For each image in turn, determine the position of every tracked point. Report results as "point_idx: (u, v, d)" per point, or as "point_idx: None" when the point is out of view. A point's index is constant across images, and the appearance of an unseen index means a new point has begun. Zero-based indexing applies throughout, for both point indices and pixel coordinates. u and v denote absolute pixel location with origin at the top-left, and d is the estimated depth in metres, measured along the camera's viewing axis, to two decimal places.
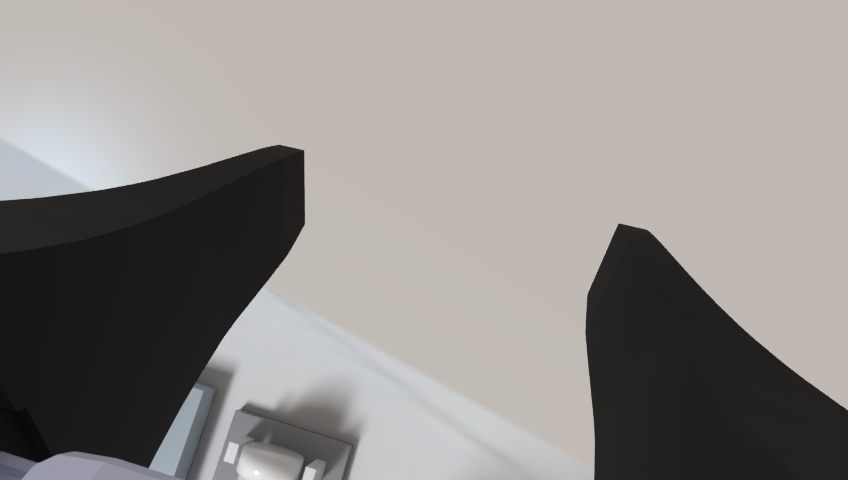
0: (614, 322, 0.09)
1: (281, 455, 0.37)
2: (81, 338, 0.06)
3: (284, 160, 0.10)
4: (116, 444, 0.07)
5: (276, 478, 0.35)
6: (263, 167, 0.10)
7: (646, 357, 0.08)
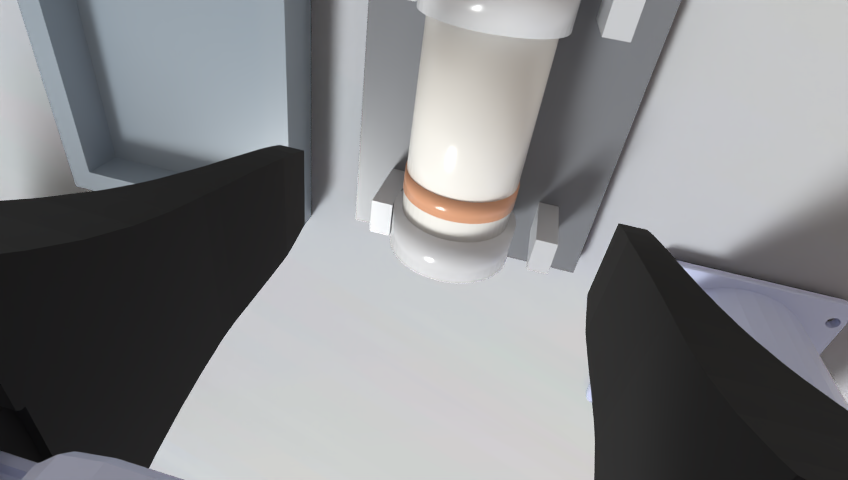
0: (614, 321, 0.09)
1: None
2: (81, 338, 0.06)
3: (284, 160, 0.10)
4: (116, 444, 0.07)
5: (530, 16, 0.13)
6: (263, 167, 0.10)
7: (646, 357, 0.08)
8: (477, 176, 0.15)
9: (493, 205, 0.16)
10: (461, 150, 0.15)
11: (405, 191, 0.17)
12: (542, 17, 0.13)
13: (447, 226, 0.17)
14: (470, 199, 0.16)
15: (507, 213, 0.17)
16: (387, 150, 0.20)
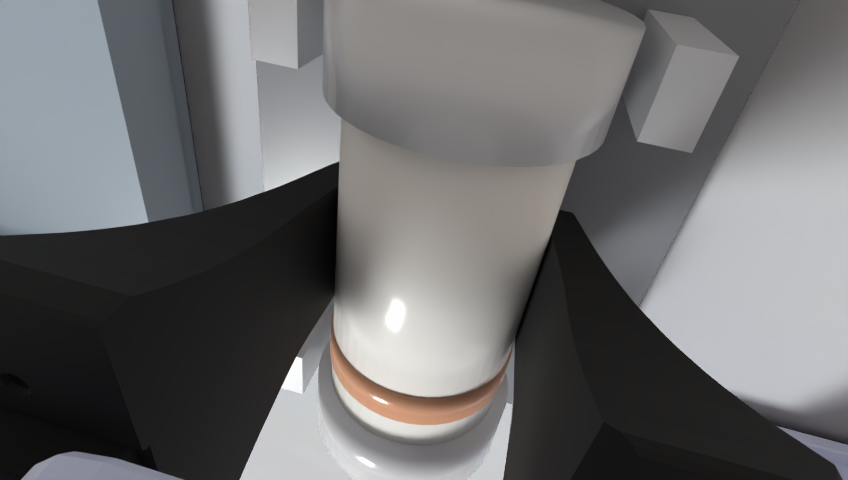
0: (532, 301, 0.09)
1: (525, 2, 0.07)
2: (195, 371, 0.06)
3: None
4: (211, 474, 0.07)
5: (559, 127, 0.06)
6: None
7: (546, 331, 0.08)
8: (457, 366, 0.09)
9: (483, 391, 0.10)
10: (429, 334, 0.09)
11: (335, 368, 0.11)
12: (579, 125, 0.06)
13: (412, 429, 0.10)
14: (447, 394, 0.10)
15: (500, 384, 0.11)
16: None
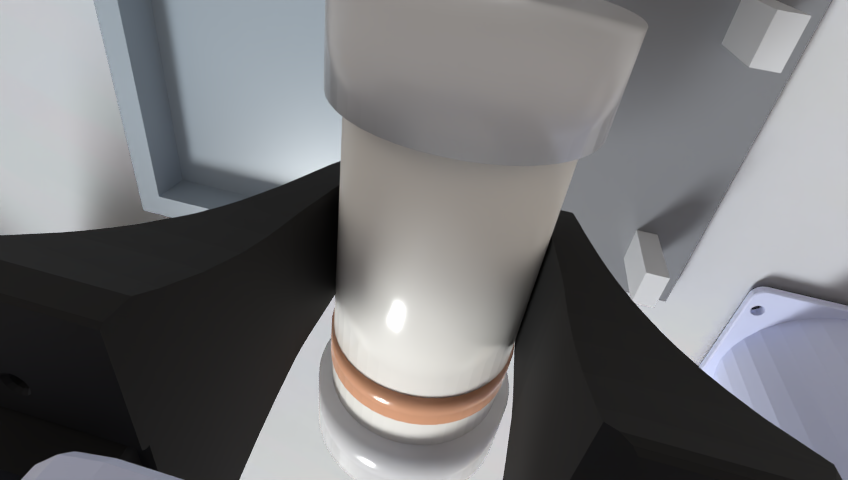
0: (532, 301, 0.09)
1: (527, 0, 0.07)
2: (195, 371, 0.06)
3: None
4: (211, 474, 0.07)
5: (560, 125, 0.06)
6: (339, 185, 0.09)
7: (546, 331, 0.08)
8: (458, 365, 0.09)
9: (484, 391, 0.10)
10: (430, 334, 0.09)
11: (336, 368, 0.11)
12: (581, 124, 0.06)
13: (412, 429, 0.10)
14: (448, 394, 0.10)
15: (501, 384, 0.11)
16: None
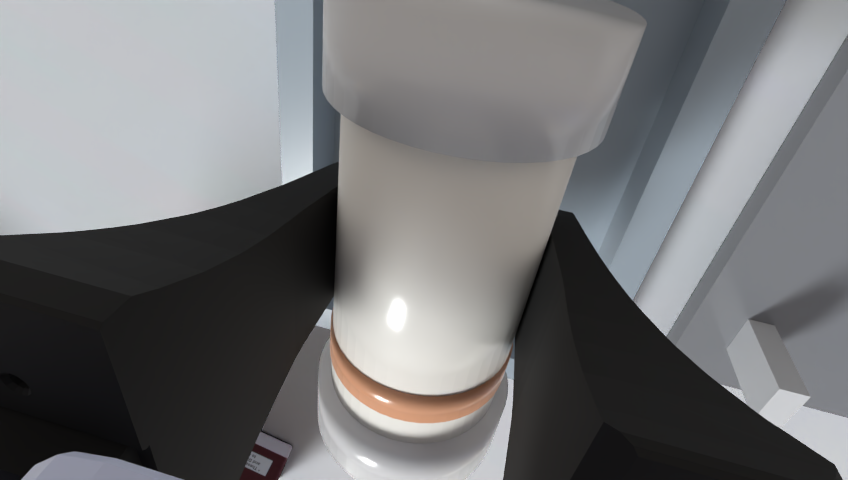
0: (532, 301, 0.09)
1: None
2: (194, 371, 0.06)
3: None
4: (211, 474, 0.07)
5: (556, 122, 0.06)
6: None
7: (546, 331, 0.08)
8: (455, 364, 0.09)
9: (481, 390, 0.10)
10: (426, 331, 0.08)
11: (334, 365, 0.11)
12: (577, 121, 0.06)
13: (409, 427, 0.10)
14: (445, 392, 0.10)
15: (499, 384, 0.11)
16: (750, 298, 0.15)
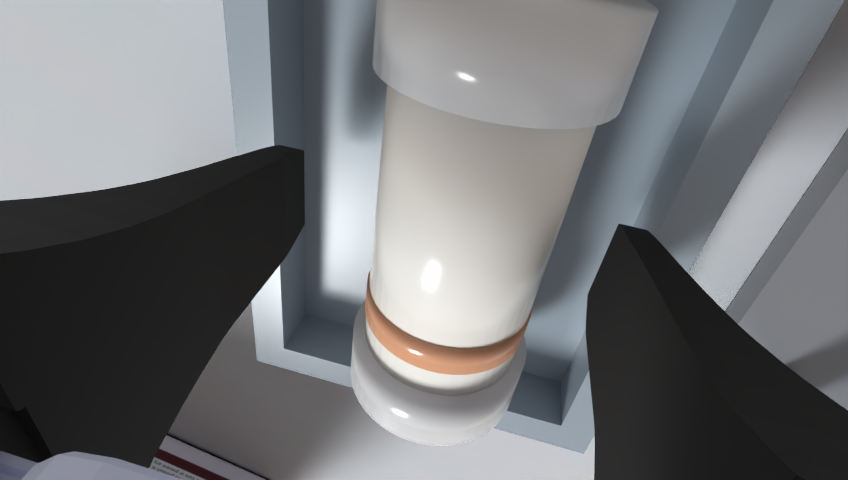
0: (614, 321, 0.09)
1: None
2: (81, 338, 0.06)
3: (284, 160, 0.10)
4: (116, 444, 0.07)
5: (600, 93, 0.07)
6: (263, 167, 0.10)
7: (646, 357, 0.08)
8: (499, 315, 0.10)
9: (516, 338, 0.11)
10: (478, 287, 0.10)
11: (377, 335, 0.12)
12: (614, 91, 0.08)
13: (455, 380, 0.11)
14: (488, 343, 0.11)
15: None
16: (774, 349, 0.13)
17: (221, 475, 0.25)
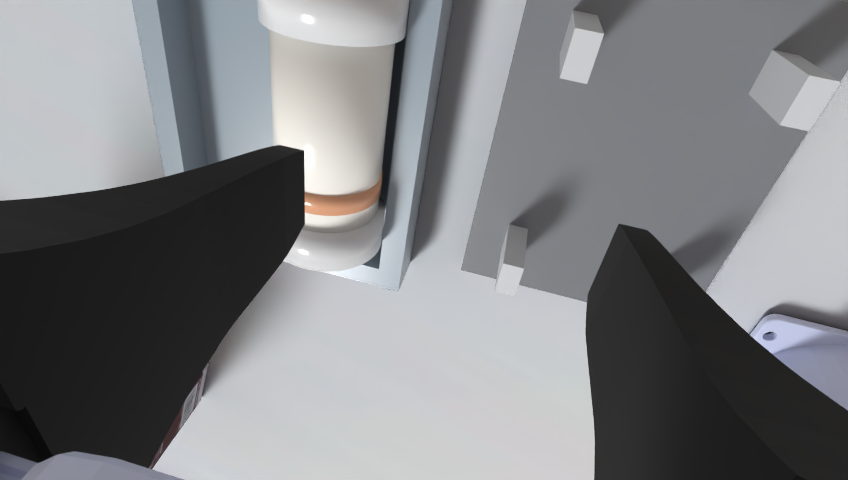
0: (614, 321, 0.09)
1: None
2: (81, 338, 0.06)
3: (284, 160, 0.10)
4: (116, 444, 0.07)
5: (405, 20, 0.15)
6: (263, 167, 0.10)
7: (646, 357, 0.08)
8: (379, 161, 0.18)
9: None
10: (371, 146, 0.17)
11: (311, 211, 0.18)
12: None
13: (365, 213, 0.19)
14: (376, 181, 0.18)
15: None
16: (506, 207, 0.20)
17: None
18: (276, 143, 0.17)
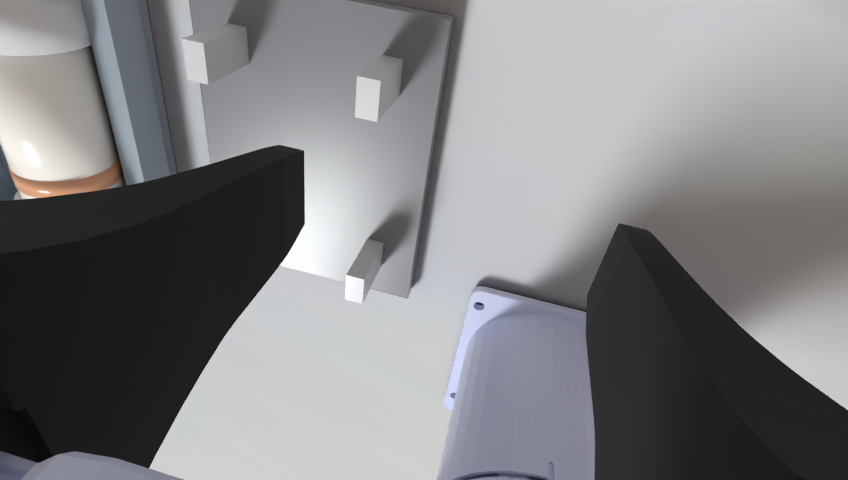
0: (614, 321, 0.09)
1: None
2: (81, 338, 0.06)
3: (284, 160, 0.10)
4: (116, 444, 0.07)
5: (80, 32, 0.18)
6: (263, 167, 0.10)
7: (646, 357, 0.08)
8: (97, 151, 0.21)
9: (116, 166, 0.22)
10: (77, 138, 0.20)
11: (36, 195, 0.21)
12: (86, 30, 0.19)
13: None
14: (101, 169, 0.21)
15: None
16: None
17: None
18: None
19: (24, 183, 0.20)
